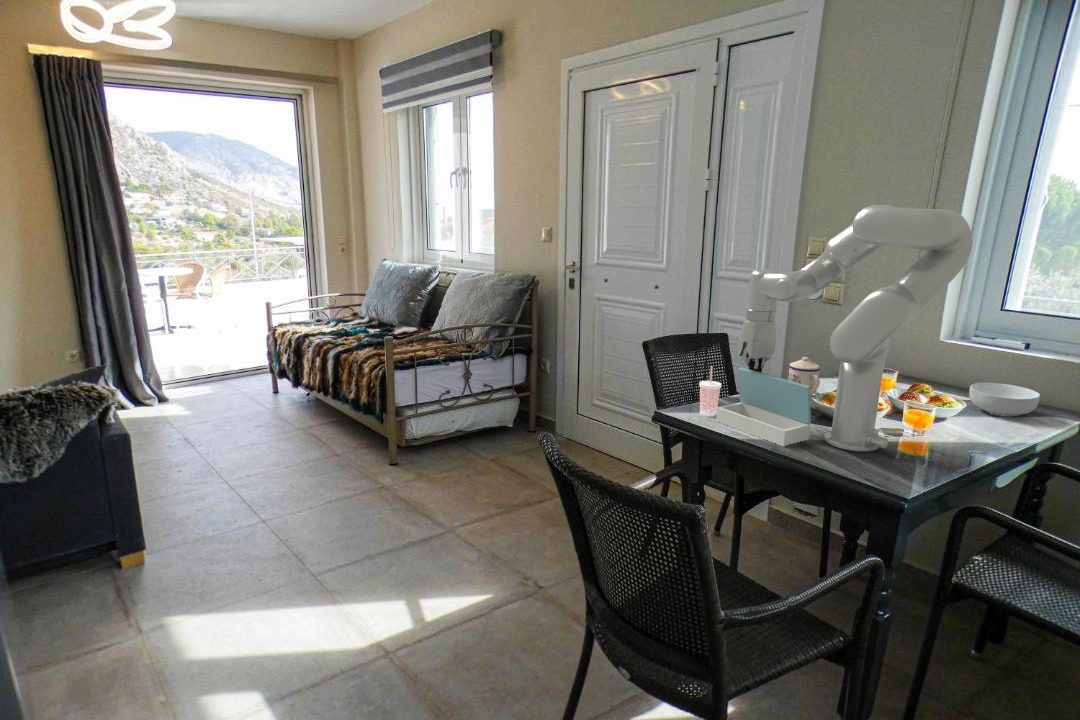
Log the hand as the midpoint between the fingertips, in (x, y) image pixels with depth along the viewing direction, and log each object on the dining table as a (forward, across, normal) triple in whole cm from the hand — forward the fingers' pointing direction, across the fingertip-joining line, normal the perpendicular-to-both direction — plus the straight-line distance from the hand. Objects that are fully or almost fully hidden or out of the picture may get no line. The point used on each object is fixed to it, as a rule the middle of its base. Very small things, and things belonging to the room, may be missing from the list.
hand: (754, 381), depth 177 cm
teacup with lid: (+11, -34, -8) cm, 37 cm away
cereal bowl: (+10, -69, +32) cm, 77 cm away
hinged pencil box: (+10, +6, +8) cm, 15 cm away
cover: (+1, +3, +8) cm, 9 cm away
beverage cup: (+11, +8, -8) cm, 16 cm away
